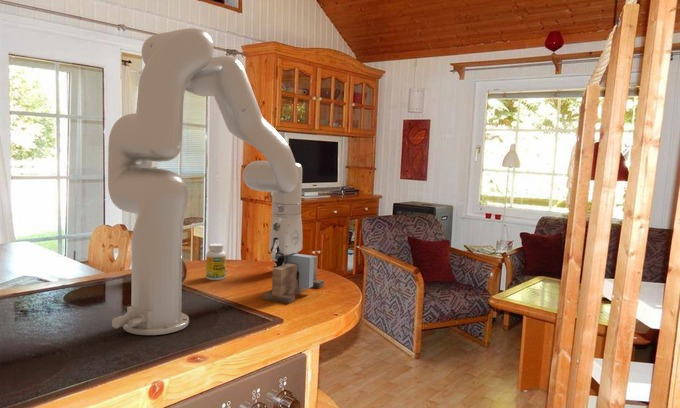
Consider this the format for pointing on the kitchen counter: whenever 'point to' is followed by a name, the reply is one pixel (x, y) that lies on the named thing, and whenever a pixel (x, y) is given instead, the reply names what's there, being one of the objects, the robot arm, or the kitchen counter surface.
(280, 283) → the walnut slotted rail
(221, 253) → the supplement bottle
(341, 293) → the kitchen counter surface
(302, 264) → the blue slotted plate
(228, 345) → the kitchen counter surface
